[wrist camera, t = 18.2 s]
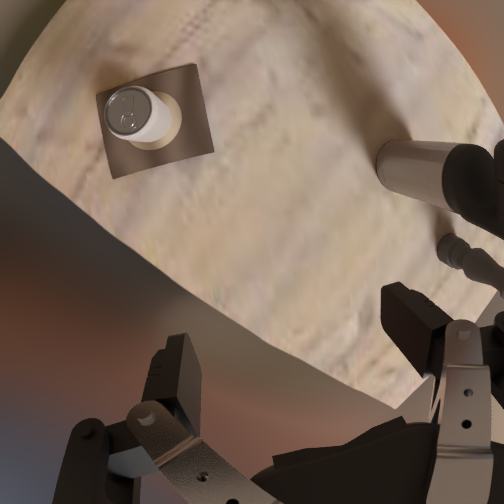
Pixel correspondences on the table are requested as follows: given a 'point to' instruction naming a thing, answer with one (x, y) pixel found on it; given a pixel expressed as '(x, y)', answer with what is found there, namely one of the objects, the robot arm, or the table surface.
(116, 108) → the can
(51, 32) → the table surface
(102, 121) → the rest board
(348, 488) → the robot arm
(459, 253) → the candle holder
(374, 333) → the table surface
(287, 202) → the table surface
